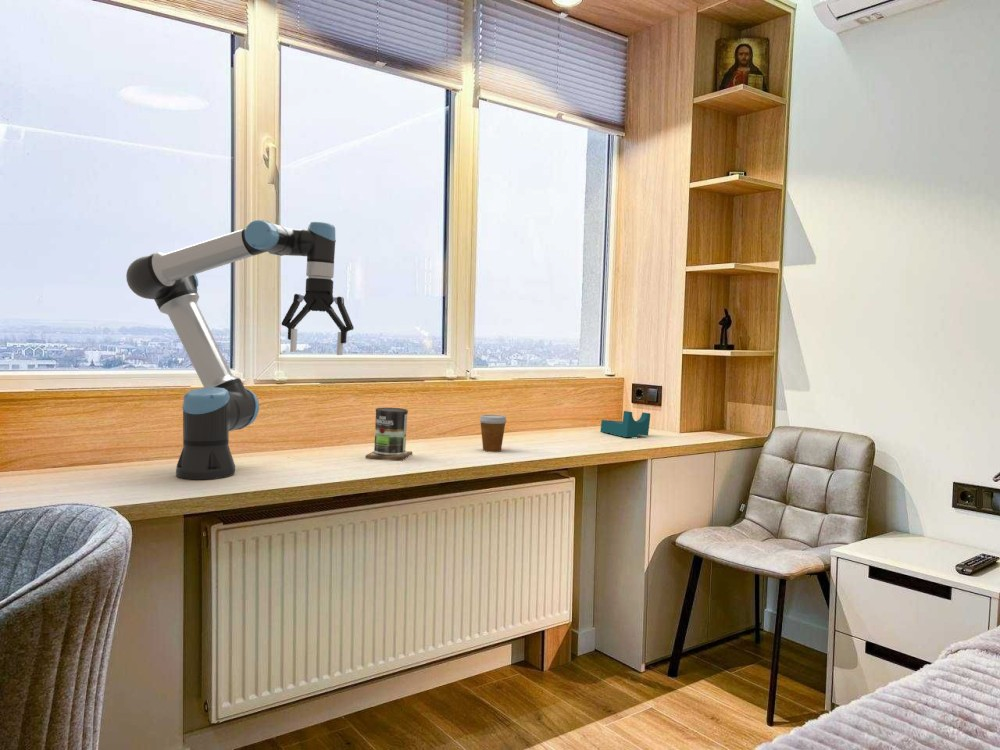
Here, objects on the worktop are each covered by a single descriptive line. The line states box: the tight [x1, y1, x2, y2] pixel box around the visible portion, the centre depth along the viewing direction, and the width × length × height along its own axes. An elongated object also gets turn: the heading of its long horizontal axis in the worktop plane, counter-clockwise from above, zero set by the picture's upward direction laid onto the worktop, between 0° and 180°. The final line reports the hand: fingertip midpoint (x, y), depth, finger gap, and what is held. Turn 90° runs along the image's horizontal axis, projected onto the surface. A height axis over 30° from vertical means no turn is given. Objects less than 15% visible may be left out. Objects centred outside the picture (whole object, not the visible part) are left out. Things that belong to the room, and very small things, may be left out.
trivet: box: [365, 450, 413, 461], centre depth 242 cm, size 12×12×1 cm
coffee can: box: [373, 407, 409, 455], centre depth 241 cm, size 10×10×14 cm
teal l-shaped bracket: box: [599, 410, 651, 438], centre depth 309 cm, size 18×11×10 cm, turn 28°
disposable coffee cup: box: [478, 414, 508, 452], centre depth 260 cm, size 10×10×12 cm
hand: (316, 353), depth 212 cm, fingers open, 13 cm apart
